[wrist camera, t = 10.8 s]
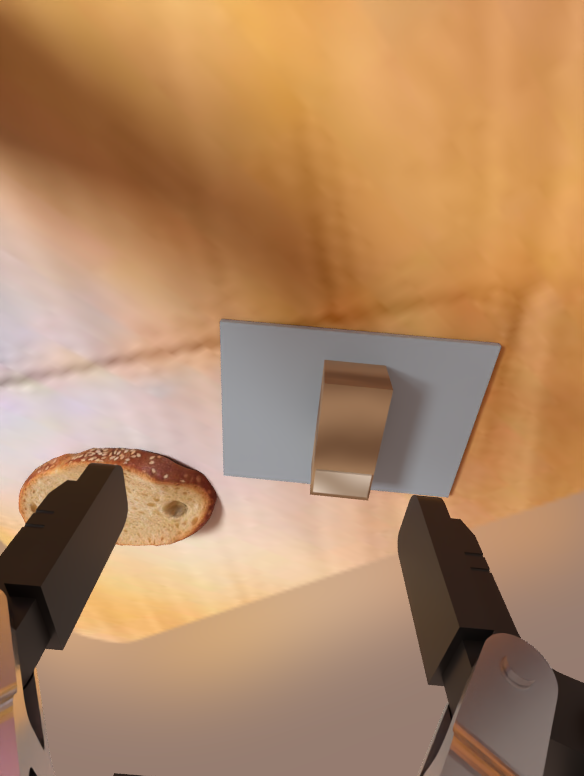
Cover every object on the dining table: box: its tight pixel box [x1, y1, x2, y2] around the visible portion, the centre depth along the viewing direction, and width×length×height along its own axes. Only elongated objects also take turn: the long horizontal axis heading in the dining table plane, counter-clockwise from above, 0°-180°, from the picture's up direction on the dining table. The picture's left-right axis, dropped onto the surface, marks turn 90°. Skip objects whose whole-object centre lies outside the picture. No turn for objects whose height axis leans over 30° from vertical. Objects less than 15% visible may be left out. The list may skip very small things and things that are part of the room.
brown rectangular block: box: [310, 360, 393, 500], centre depth 34 cm, size 11×5×4 cm, turn 176°
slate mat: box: [220, 319, 501, 497], centre depth 36 cm, size 22×16×1 cm
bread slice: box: [19, 448, 217, 546], centre depth 42 cm, size 18×18×4 cm
